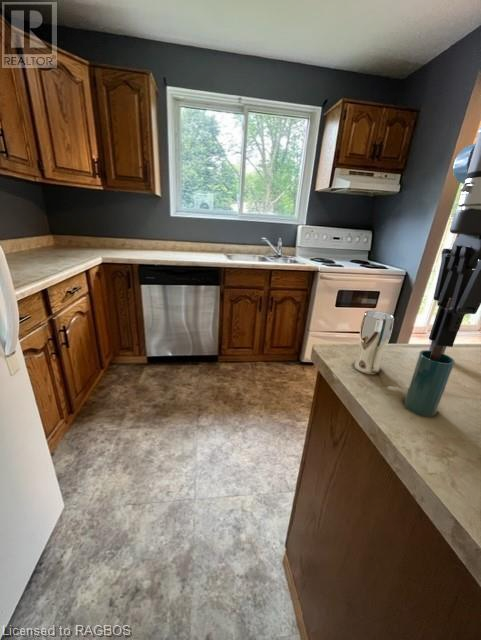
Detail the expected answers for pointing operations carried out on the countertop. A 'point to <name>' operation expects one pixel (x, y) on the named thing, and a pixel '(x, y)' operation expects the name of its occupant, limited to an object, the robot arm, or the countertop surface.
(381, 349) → the beer glass
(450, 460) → the countertop surface
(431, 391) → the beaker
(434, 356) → the brown stick
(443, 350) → the grey cylinder
